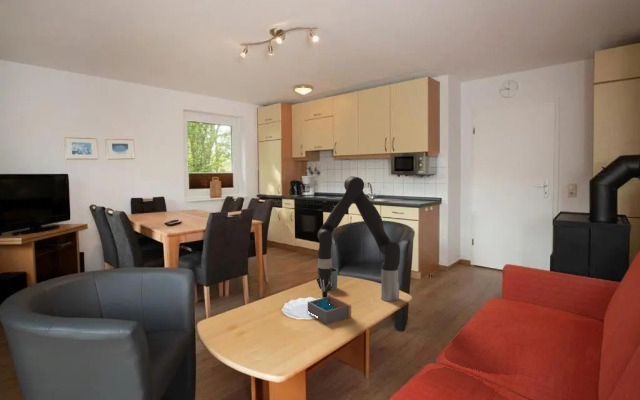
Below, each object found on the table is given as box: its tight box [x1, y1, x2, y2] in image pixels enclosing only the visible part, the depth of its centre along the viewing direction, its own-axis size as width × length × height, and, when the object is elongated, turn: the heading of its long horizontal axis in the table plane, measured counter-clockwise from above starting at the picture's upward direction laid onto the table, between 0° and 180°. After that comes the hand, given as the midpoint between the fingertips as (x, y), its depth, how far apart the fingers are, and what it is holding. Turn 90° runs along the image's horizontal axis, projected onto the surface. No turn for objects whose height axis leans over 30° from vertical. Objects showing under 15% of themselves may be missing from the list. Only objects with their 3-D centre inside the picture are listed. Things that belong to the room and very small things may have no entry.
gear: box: [317, 299, 336, 311], centre depth 176 cm, size 11×6×10 cm
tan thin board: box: [327, 294, 352, 318], centre depth 179 cm, size 1×18×6 cm, turn 35°
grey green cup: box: [329, 267, 339, 292], centre depth 215 cm, size 10×10×12 cm
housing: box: [307, 296, 348, 325], centre depth 174 cm, size 13×16×6 cm
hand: (324, 297), depth 188 cm, fingers closed
